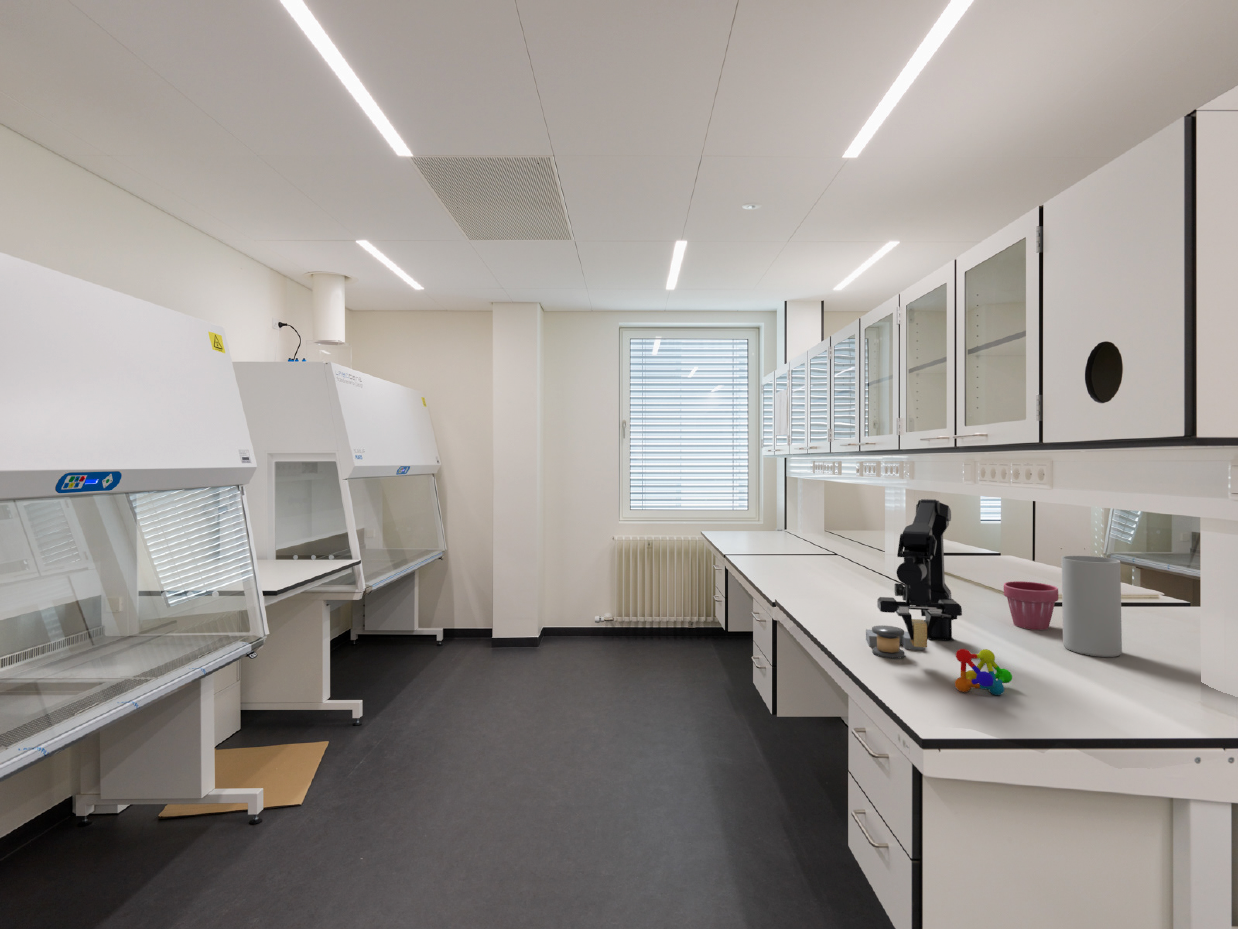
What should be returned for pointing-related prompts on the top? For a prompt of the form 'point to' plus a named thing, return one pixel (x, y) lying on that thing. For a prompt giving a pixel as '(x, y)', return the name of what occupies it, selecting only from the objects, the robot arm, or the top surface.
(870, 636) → the notch board
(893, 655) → the bobbin
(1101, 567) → the cylinder vase
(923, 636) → the tan wooden block
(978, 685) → the molecular model
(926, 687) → the top surface
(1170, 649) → the top surface
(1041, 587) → the plant pot
